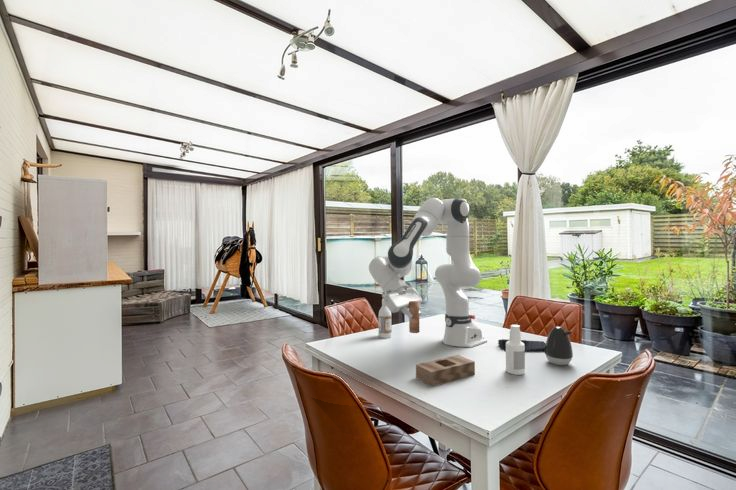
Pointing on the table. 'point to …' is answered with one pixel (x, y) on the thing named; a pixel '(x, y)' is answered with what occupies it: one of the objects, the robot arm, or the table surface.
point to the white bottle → (515, 352)
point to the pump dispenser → (558, 347)
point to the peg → (414, 317)
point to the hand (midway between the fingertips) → (415, 316)
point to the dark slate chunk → (526, 345)
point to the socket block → (445, 370)
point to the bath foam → (385, 321)
